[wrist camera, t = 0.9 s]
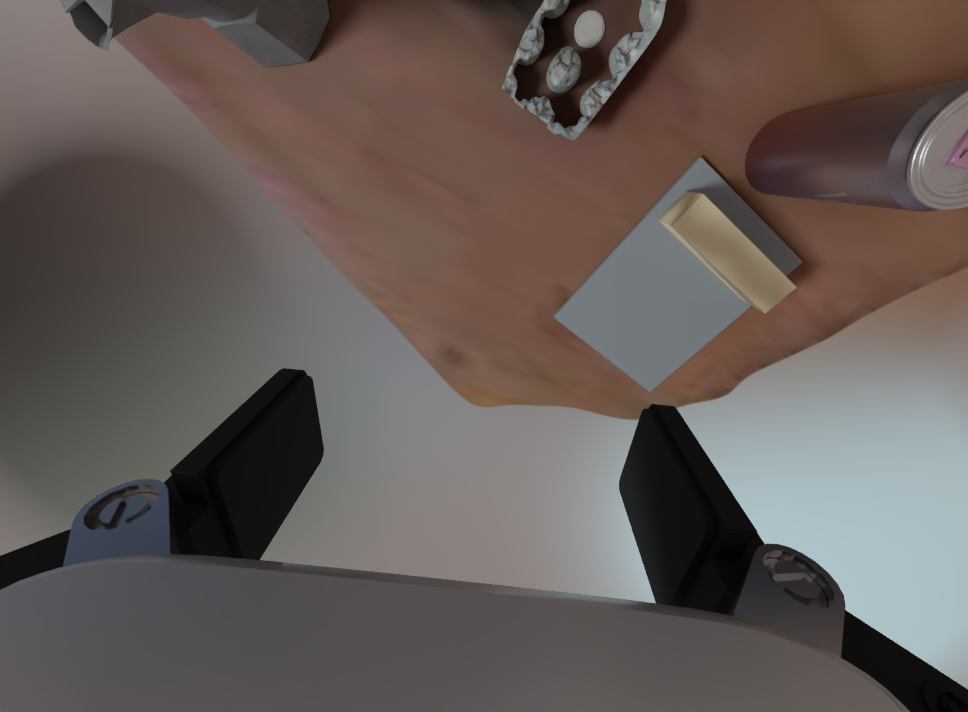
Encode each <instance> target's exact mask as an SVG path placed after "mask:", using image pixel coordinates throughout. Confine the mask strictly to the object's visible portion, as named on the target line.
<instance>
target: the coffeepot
mask: <svg viewBox="0 0 968 712" xmlns="http://www.w3.org/2000/svg"><path fill="white" fill-rule="evenodd" d="M60 1H61V3H62V6H63V8H64V10H65V12H66V13H69V16H70V18H71V21H72V23H73V26H74V28H75V29H76V30H77V31H78V32H79V33H80V34H81V35H82V36H83V37H84V38H86V39H87V40H88V41H89V42H91V43H92V44H94V45H95V46H97V47H100V48H102V49H105V50H108V48H109V43H110V41H111V39H112V38H113V37H114V36H116V35H118V34H119V33H121V32H122V31H124V30H125V29H127V28H128V27H130V26H132V25H134V24H136V23H137V22H139V21H141V20H143V19H145V18H147V17H149V16H151V15H152V14H154V13H156V12H158V13H163V14H168V15H172V16H177V17H181V18H186V19H191V18H202V19H203V20H204V21H206V22H207V23H208V24H209V25H211V26H212V27H213V28H214V29H216V30H217V31H218V32H220V33H221V34H222V35H224V36H225V37H226V38H228V39H229V40H230V41H232V42H233V43H234V44H235V45H237V46H238V47H239V48H241V49H242V50H243V51H245V52H246V53H247V54H249V55H250V56H251V57H253V58H254V59H255V60H257V61H258V62H259V63H260V64H262V65H263V66H264V67H272V66H288V65H292V64H296V63H304V62H308V61H309V59H310V58H311V56H312V54H313V52H314V51H315V49H316V47H317V46H318V44H319V43H320V41H321V38H322V36H323V33H324V30H325V26H326V24H327V22H328V20H329V18H330V14H329V8H328V3H327V0H60Z"/></svg>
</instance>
